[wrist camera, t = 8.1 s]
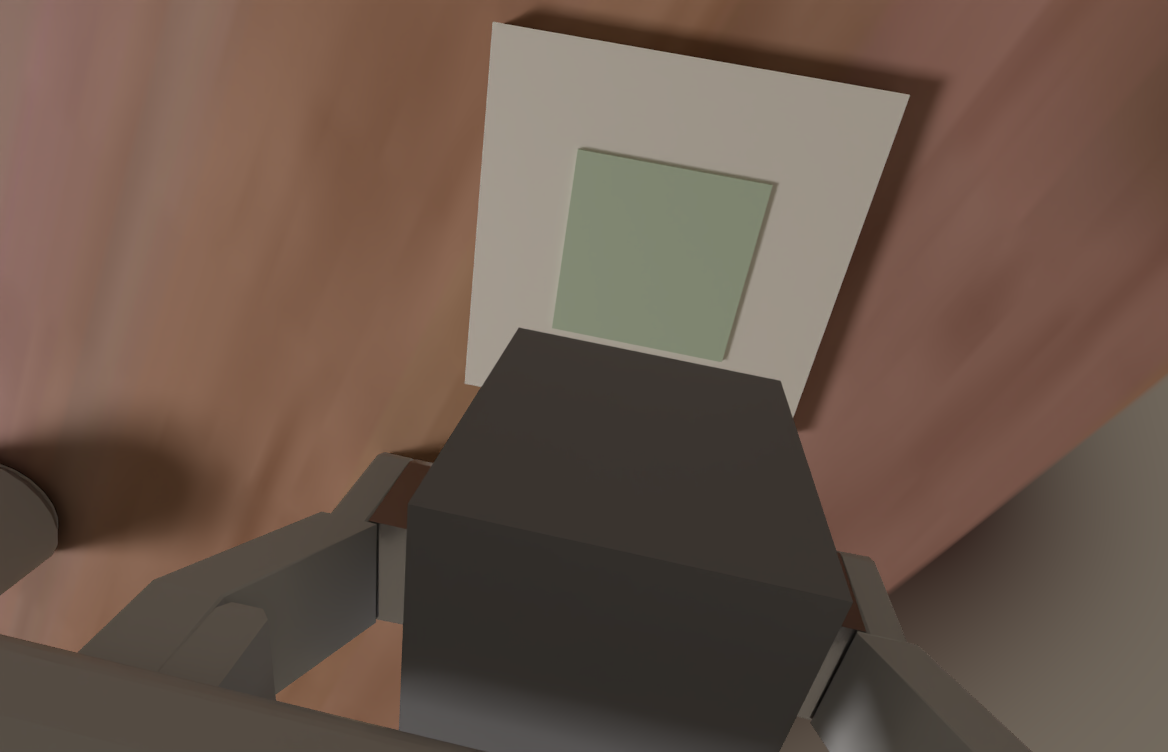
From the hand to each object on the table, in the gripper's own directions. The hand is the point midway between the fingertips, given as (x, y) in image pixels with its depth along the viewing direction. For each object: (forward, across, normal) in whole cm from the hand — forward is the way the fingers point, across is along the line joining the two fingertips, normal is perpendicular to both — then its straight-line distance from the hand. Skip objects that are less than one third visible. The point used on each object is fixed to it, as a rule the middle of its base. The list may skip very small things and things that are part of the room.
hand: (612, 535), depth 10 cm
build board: (+17, 0, 0) cm, 17 cm away
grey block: (+2, 0, 0) cm, 2 cm away
